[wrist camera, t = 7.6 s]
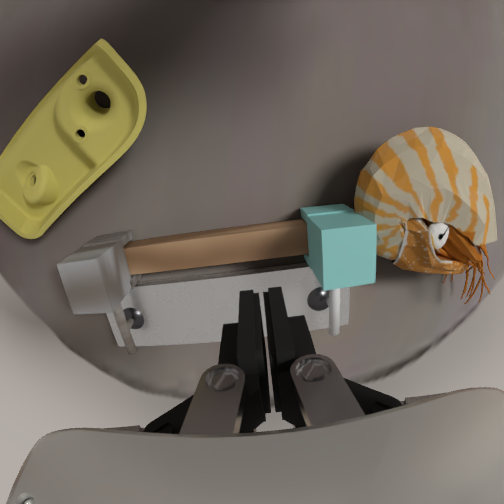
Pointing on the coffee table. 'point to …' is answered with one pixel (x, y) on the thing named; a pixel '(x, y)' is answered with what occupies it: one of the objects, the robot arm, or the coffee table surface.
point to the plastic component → (69, 140)
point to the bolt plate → (219, 304)
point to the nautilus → (428, 204)
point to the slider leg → (339, 252)
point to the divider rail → (165, 261)
